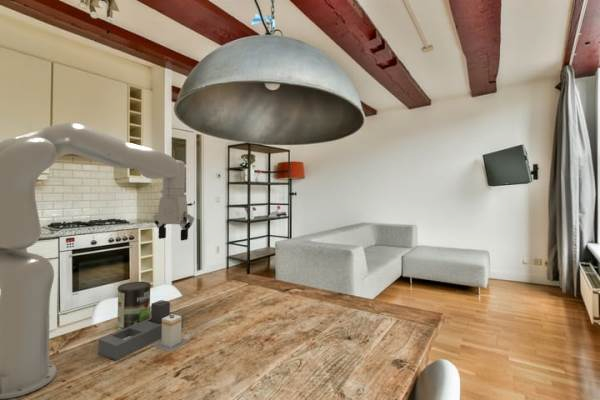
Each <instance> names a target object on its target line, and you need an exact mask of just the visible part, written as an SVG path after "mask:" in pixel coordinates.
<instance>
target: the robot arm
mask: <svg viewBox="0 0 600 400" xmlns="http://www.w3.org/2000/svg"><path fill="white" fill-rule="evenodd" d="M65 155H76V156H80V157H83V158H85V159H89V160H93V161H95V162H98V163H102V164H103V165H107V166H110V167H114V168H120V169H131V170H138V171H139V173H140V175H141V176H143V178H147V179H151V180H153V179H154V180H156V179H157V180H158V179H162V189H161V191H160V194H162V196H160V199H159V202H158V208H157V209H158V211H157V213H156V214H154V215H153V216H152V218H153V221H154V224H155V225H156V228H157V229H158V239H159V240H161V239H165V238H166V237H167V227H166V225H179V226H180V228H181V230H180V241H181V242H182V241H187V240H188V238H189V229H190V227H191V226H192V225H193V223H194V221H195V217H194V216H192V215H191V214H189V213H188V211H189V210H188V204H187V203H188V201H187V198H186V197H185V193H186V191H185V188H186V187H185V185H186V163H185V162H184V161H183V160H178V159H176V158H174V157H173V156H171V155H169V154H166V153H165V152H162V151H160V150H157V149H154V148H150V147H149V146H148V147H147V146H143V145H139V144H136V143H133V142H129V141H125V140H122V139H119V138H117V137H115V136H112V135H109V134H107V133H106V132H105V133H104V132H103V131H100V130H98V129H95V128H93V127H90V126H88V125H85V124H84V123H79V122H65V123H64V122H63V123H58V124H54V125H50V126H46V127H44V128H40V129H38V130H35V131H31V132H28V133H25V134H20V135H17V136H14V137H10V138H7V139H4V140H2V141H0V400H7V399H13V398H16V397H21V396H24V395H26V394H30V393H33V392H34V391H36V390H39V389H41V388H42V387H45V386H46V385H47V384H49V383H50V382H51V381H52V380H54V379H55V378H56V376H57V373H58V372H57V369H58V368H57V367H56V366H55V365H53V364H51V363H50V319H51V318H50V316H51V315H50V308H51V307H50V305H51V303H50V302H51V295H52V294H51V293H52V289H53V283H54V277H55V271H54V266H53V265H52V263H51V262H50V261H49V260H48V259H47V258H46V257H44V256H43V255H40V254H36V253H32V252H28V248H30V247H32V246H34V245H35V244H36V243H37V242H38V241H39V239H40V237H41V234H42V231H41V230H42V227H41V222H40V217H39V211H38V206H37V201H36V191H35V189H36V184H37V181H38V179H39V177H40V176H41V174H42V173H44V172H45V171H46V170H47V169H49V168H51V167H52V166H54V164H55V162H56V161H57V159H58V158H60V157H64V156H65Z"/></svg>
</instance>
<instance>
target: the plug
mask: <svg viewBox="0 0 600 400" xmlns="http://www.w3.org/2000/svg"><path fill="white" fill-rule="evenodd" d="M181 323H182V316H178V315H174V314H171V315H169V316H167V317H164V318H162V338H161V340H162V343H161V344H162V345H166V346H169V347H172V346H174V345H176V344H178V343H179V342H181V338H182V328H181Z"/></svg>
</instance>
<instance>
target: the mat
mask: <svg viewBox="0 0 600 400" xmlns="http://www.w3.org/2000/svg"><path fill="white" fill-rule="evenodd" d="M190 341H191V339H188V338H184V337H181V342H179V343H178V344H176V345H174V346H172V347H169V346H166V345H162V344H161V343H162V339H161V340H159V341H158V342H156V343H153V344H151V347H153V348H157V349H161V350H164V351H165V352H169V353H170V352H173V351H175V350H177V349H179V347H181V346H183V345H185V344H187V343H188V342H190Z"/></svg>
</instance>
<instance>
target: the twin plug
mask: <svg viewBox="0 0 600 400" xmlns="http://www.w3.org/2000/svg"><path fill="white" fill-rule="evenodd" d="M170 309H171V302H170V301H167V300H164V299H160V300H158V301H154V302H153V303H152V302H151V303H150V310H151V311H150V314H151V315H150V318H151V322H153V323H157V324H161V323H162V318H164V317H167V316H169V315H170V312H171V310H170Z"/></svg>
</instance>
